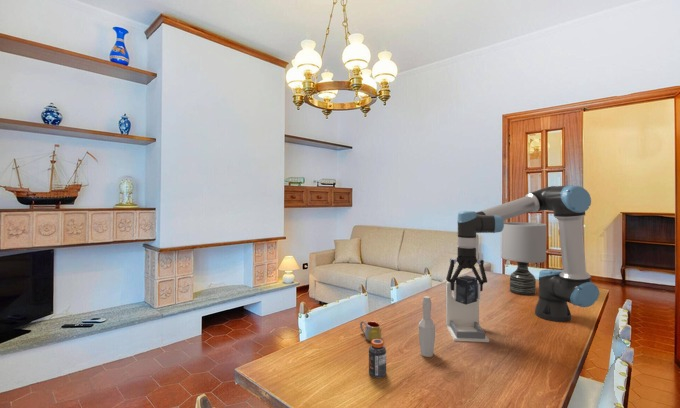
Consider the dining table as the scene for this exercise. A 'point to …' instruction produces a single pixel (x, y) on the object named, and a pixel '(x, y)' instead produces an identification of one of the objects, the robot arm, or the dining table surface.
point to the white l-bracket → (463, 319)
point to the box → (466, 289)
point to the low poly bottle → (426, 329)
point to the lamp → (523, 253)
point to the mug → (371, 330)
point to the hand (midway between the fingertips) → (466, 298)
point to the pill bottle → (377, 359)
